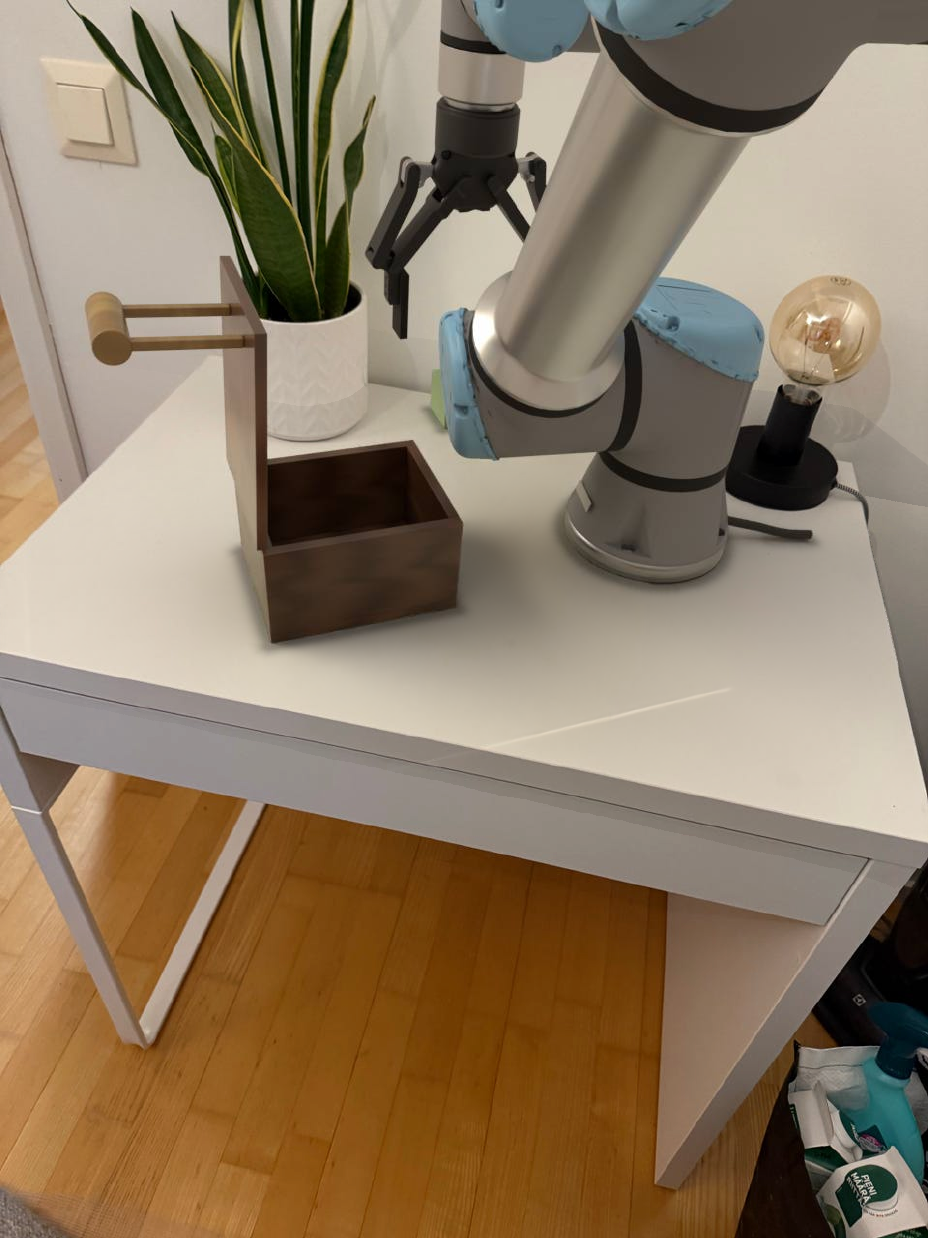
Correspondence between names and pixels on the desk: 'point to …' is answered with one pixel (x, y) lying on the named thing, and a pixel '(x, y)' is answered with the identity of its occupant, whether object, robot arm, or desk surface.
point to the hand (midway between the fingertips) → (462, 327)
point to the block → (437, 398)
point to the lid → (240, 369)
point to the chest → (353, 540)
